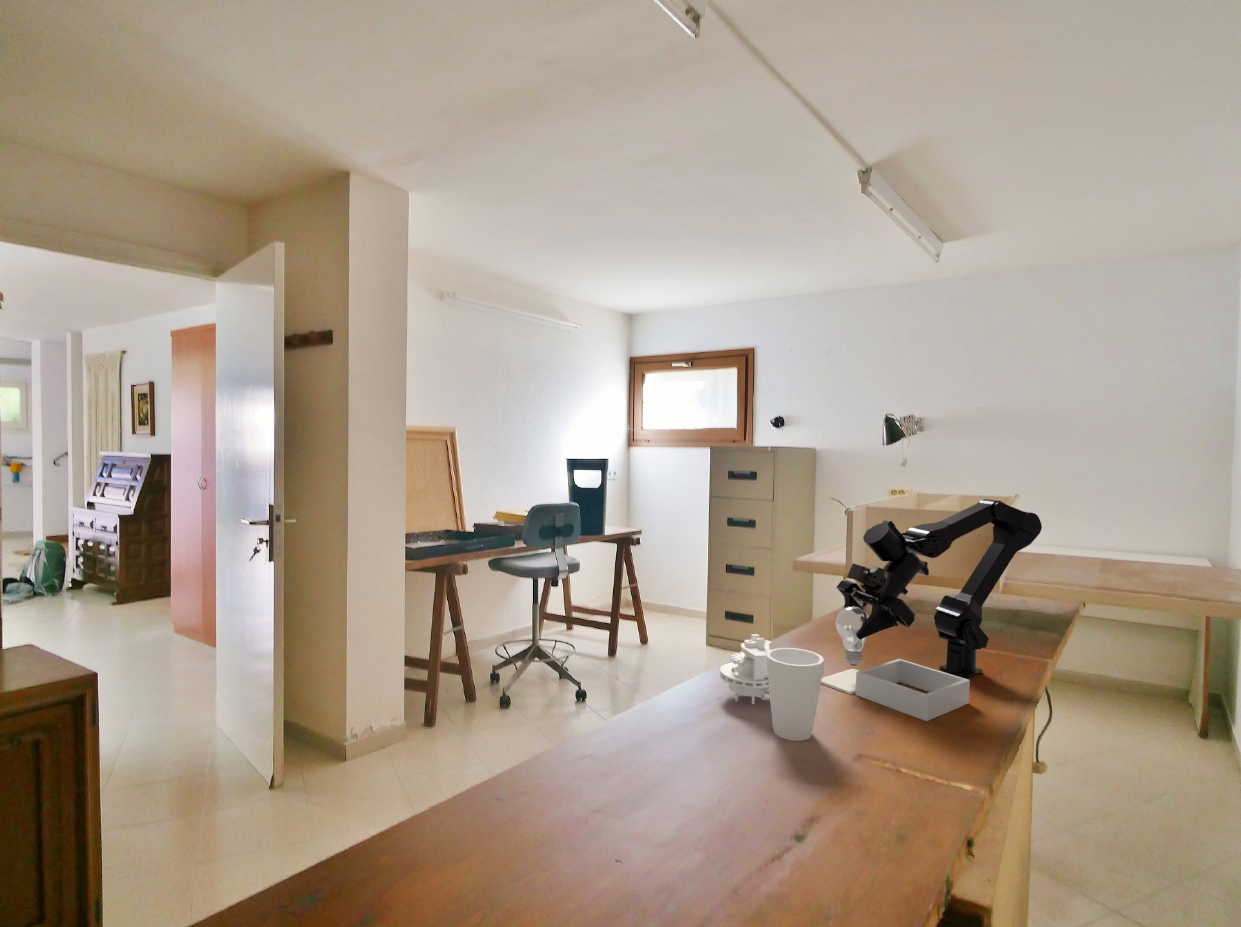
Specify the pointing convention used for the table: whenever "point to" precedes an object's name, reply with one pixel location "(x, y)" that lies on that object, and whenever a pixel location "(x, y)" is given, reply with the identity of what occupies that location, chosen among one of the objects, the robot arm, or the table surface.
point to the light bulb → (851, 632)
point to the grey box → (884, 690)
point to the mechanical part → (748, 669)
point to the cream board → (842, 681)
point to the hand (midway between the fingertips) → (848, 633)
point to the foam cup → (794, 690)
